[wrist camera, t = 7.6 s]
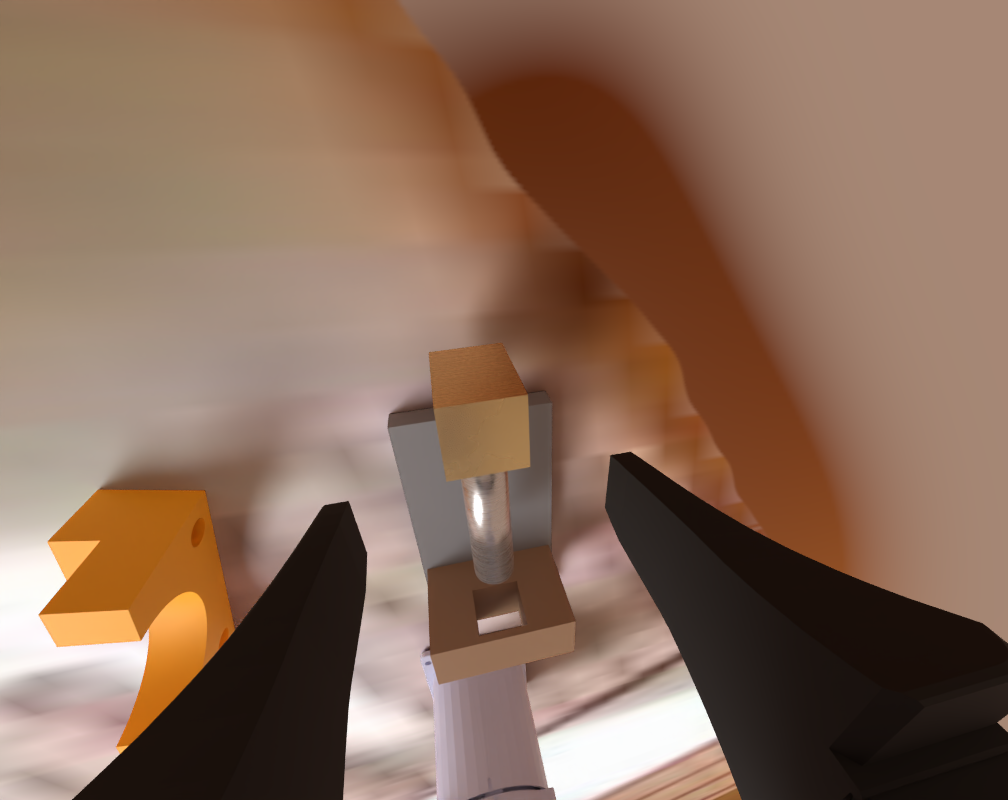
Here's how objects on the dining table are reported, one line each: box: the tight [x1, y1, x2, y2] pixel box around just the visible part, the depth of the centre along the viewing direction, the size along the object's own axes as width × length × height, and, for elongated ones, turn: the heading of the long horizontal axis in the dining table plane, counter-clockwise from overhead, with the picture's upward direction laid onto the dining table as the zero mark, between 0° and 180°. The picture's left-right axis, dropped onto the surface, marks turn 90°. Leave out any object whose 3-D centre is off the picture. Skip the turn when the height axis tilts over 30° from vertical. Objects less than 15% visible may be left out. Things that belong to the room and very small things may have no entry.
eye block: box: [388, 391, 576, 685], centre depth 22 cm, size 16×8×6 cm, turn 3°
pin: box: [429, 343, 530, 585], centre depth 17 cm, size 11×3×4 cm, turn 3°
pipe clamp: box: [39, 490, 235, 754], centre depth 19 cm, size 12×4×6 cm, turn 169°
